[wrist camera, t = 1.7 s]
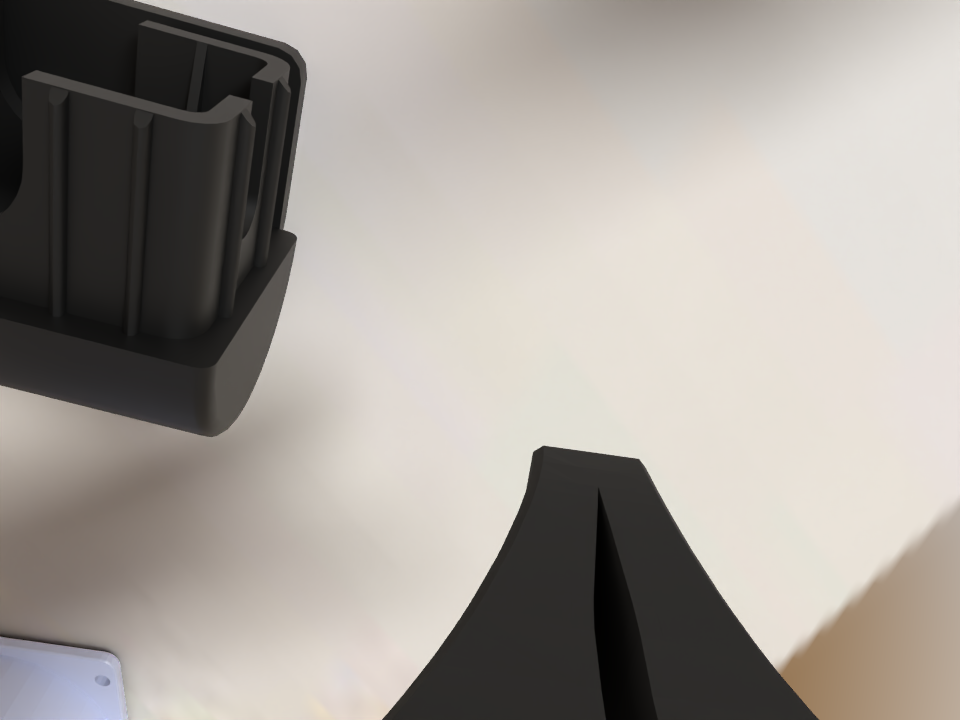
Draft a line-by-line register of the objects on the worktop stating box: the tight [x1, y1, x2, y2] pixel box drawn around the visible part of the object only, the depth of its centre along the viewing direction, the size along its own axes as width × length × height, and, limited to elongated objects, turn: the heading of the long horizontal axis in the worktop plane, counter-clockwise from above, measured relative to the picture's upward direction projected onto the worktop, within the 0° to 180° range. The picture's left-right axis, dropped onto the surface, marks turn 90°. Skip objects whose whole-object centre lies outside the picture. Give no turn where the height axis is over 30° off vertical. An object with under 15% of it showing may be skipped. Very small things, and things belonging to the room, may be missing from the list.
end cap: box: [0, 0, 307, 437], centre depth 18 cm, size 10×7×7 cm
